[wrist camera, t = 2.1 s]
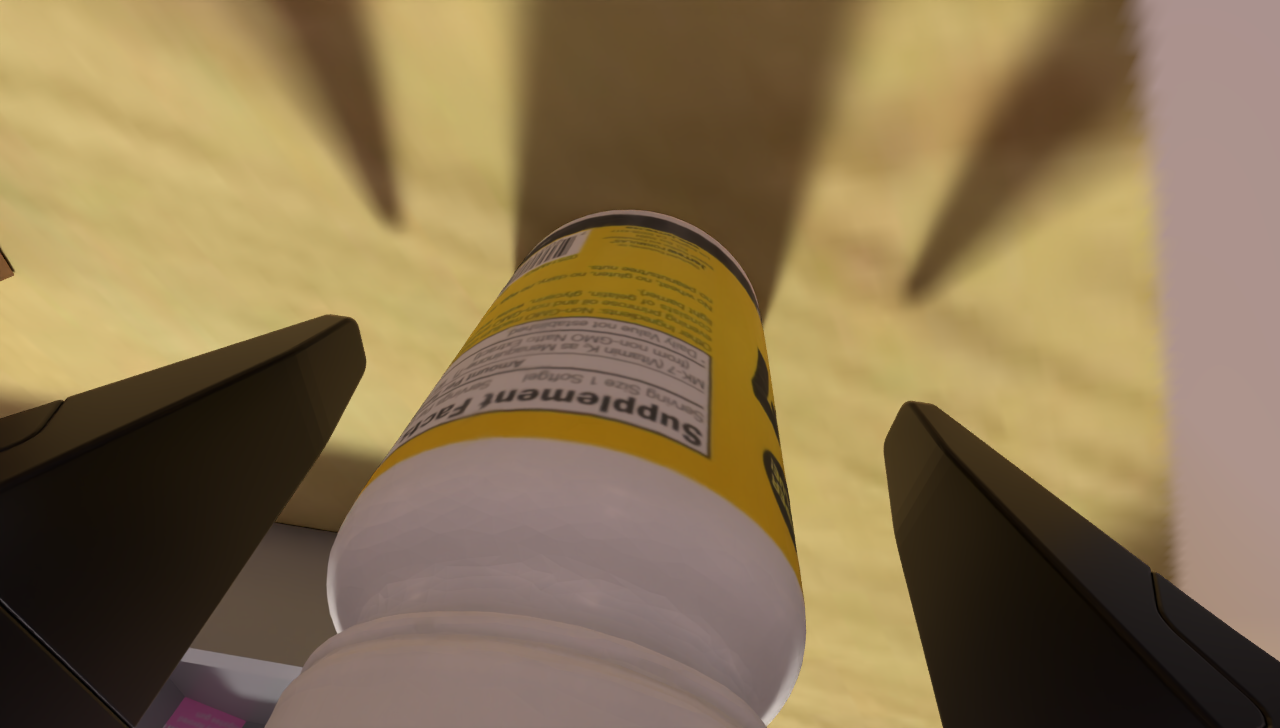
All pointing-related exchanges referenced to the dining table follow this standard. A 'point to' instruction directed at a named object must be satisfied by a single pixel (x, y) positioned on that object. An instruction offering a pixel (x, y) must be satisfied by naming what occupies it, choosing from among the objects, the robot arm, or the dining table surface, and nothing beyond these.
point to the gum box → (201, 717)
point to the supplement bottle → (577, 511)
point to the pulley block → (4, 269)
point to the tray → (257, 631)
